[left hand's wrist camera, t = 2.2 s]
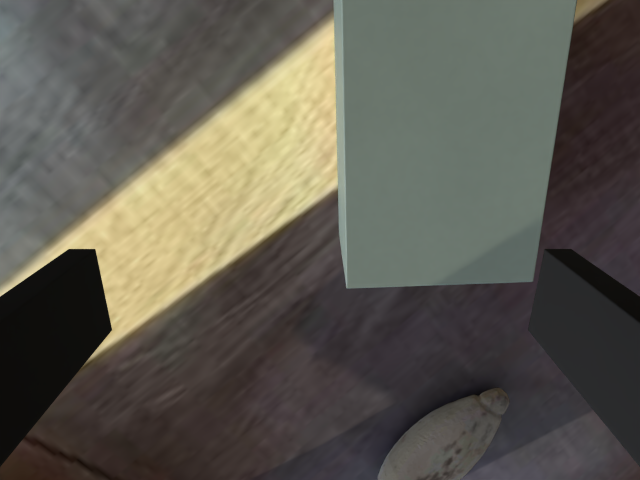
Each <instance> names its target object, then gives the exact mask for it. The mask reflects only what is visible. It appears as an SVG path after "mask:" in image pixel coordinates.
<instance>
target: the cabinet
mask: <svg viewBox="0 0 640 480" xmlns="http://www.w3.org/2000/svg"><path fill="white" fill-rule="evenodd" d="M576 3H577V0H334V34H335V77H336V120H337V162H338V205H339V236H340V243H341V251H342V258H343V265H344V273H345V280H346V287H347V288H371V287H399V286H427V285H455V284H482V283H510V282H533V278H534V272H535V266H536V259H537V253H538V246H539V240H540V234H541V227H542V221H543V214H544V208H545V202H546V195H547V189H548V182H549V176H550V170H551V163H552V157H553V150H554V144H555V138H556V131H557V125H558V118H559V112H560V106H561V99H562V93H563V86H564V80H565V74H566V67H567V61H568V54H569V48H570V42H571V35H572V29H573V22H574V16H575V10H576Z"/></svg>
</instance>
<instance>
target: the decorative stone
mask: <svg viewBox="0 0 640 480" xmlns="http://www.w3.org/2000/svg"><path fill="white" fill-rule="evenodd" d="M509 402H510V401H509V398H508V395H507V394H506V393H505V392H504V391H503V390H502V389H500V388H493V389H490V390H487V391H485V392H483V393H481V394H480V395H478V396H477V395H471V396H468V397H465V398H462V399H459V400H456V401H454V402H451V403H448V404H446V405H444V406H442V407H440V408H438V409H436V410H434V411H432V412H430V413H429V414H428V415H426V416H425V417H423V418H422V419H420V420H419V421H418V422H417V423H415V424H414V425H413V426H412V427H411V428H410V429H409V430H408V431H407V432H405V433H404V435H403V436H402V437H401V438H400V439H399V440H398V442H397V443H396V444H395V445H394V446H393V448H392V449H391V451H390V452H389V454H388V455H387V456H386V458H385V460H384V462H383V464H382V466H381V469H380V472H379V475H378V480H460V479H461V478H462V477H464V476H465V475H466V474H467V473H468V472H469V471H470V470H471V469H472V468H473V466H474V465H475V464H476V463H477V462H478V460H479V459H480V458H481V457H482V455H483V454H484V453H485V451H486V449H487V448H488V447H489V445H490V443H491V441H492V439H493V437H494V435H495V433H496V431H497V429H498V427H499V425H500V423H501V415H502V414H504V413H505V412H506V409H507V407H508V405H509Z"/></svg>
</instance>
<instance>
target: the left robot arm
mask: <svg viewBox="0 0 640 480" xmlns="http://www.w3.org/2000/svg"><path fill="white" fill-rule="evenodd" d="M111 331H112V328H111V323H110V318H109V313H108V308H107V304H106V299H105V294H104V289H103V284H102V280H101V275H100V270H99V265H98V260H97V255H96V251H95V249H68V250H67V251H66V252H64V253H63V254H61V255H60V256H58V257H57V258H55V259H54V260H53V261H51V262H50V263H48V264H47V265H45V266H44V267H42V268H41V269H40V270H38V271H37V272H35V273H34V274H32V275H31V276H29V277H28V278H27V279H25V280H24V281H22V282H21V283H19V284H18V285H16V286H15V287H14V288H12V289H11V290H9V291H8V292H6V293H5V294H3V295H2V296H1V297H0V466H1V465H2V464H3V463H4V461H5V460H6V459H7V458H8V457H9V455H10V454H11V453H12V452H13V450H14V449H15V448H16V447H17V446H18V444H19V443H20V442H21V441H22V439H23V438H24V437H25V436H26V435H27V433H28V432H29V431H30V430H31V428H32V427H33V426H34V425H35V424H36V422H37V421H38V420H39V419H40V417H41V416H42V415H43V414H44V413H45V411H46V410H47V409H48V408H49V406H50V405H51V404H52V403H53V401H54V400H55V399H56V398H57V397H58V395H59V394H60V393H61V392H62V390H63V389H64V388H65V387H66V386H67V384H68V383H69V382H70V381H71V379H72V378H73V377H74V376H75V375H76V373H77V372H78V371H79V370H80V368H81V367H82V366H83V365H84V364H85V362H86V361H87V360H88V359H89V357H90V356H91V355H92V354H93V353H94V351H95V350H96V349H97V348H98V346H99V345H100V344H101V343H102V342H103V340H104V339H105V338H106V337H107V335H108V334H109V333H110V332H111ZM528 331H529V332H530V333H531V334H532V335H533V337H534V338H535V339H536V340H537V342H538V343H539V344H540V345H541V346H542V348H543V349H544V350H545V351H546V353H547V354H548V355H549V356H550V357H551V359H552V360H553V361H554V362H555V364H556V365H557V366H558V367H559V368H560V370H561V371H562V372H563V373H564V375H565V376H566V377H567V378H568V379H569V381H570V382H571V383H572V384H573V386H574V387H575V388H576V389H577V390H578V392H579V393H580V394H581V395H582V397H583V398H584V399H585V400H586V401H587V403H588V404H589V405H590V406H591V408H592V409H593V410H594V411H595V413H596V414H597V415H598V416H599V417H600V419H601V420H602V421H603V422H604V424H605V425H606V426H607V427H608V428H609V430H610V431H611V432H612V433H613V435H614V436H615V437H616V438H617V439H618V441H619V442H620V443H621V444H622V446H623V447H624V448H625V449H626V450H627V452H628V453H629V454H630V455H631V457H632V458H633V459H634V460H635V461H636V463H637V464H638V465H639V466H640V297H639V296H638V295H637V294H635V293H634V292H632V291H631V290H629V289H628V288H626V287H625V286H624V285H622V284H621V283H619V282H618V281H616V280H615V279H613V278H612V277H611V276H609V275H608V274H606V273H605V272H603V271H602V270H600V269H599V268H598V267H596V266H595V265H593V264H592V263H590V262H589V261H587V260H586V259H585V258H583V257H582V256H580V255H579V254H577V253H576V252H574V251H573V250H572V249H545V251H544V255H543V260H542V265H541V270H540V275H539V280H538V284H537V289H536V294H535V299H534V304H533V308H532V313H531V318H530V323H529V328H528Z"/></svg>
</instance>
